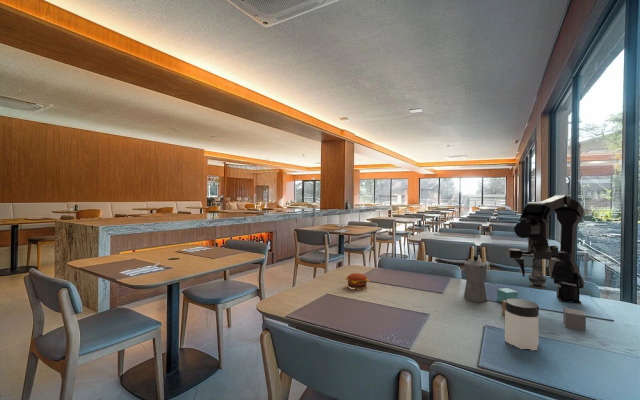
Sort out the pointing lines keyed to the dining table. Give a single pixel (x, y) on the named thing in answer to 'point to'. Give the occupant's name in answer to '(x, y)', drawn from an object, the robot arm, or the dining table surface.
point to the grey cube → (574, 319)
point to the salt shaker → (537, 275)
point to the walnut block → (503, 307)
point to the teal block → (506, 294)
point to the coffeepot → (475, 280)
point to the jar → (522, 323)
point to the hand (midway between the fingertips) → (537, 277)
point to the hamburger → (357, 281)
